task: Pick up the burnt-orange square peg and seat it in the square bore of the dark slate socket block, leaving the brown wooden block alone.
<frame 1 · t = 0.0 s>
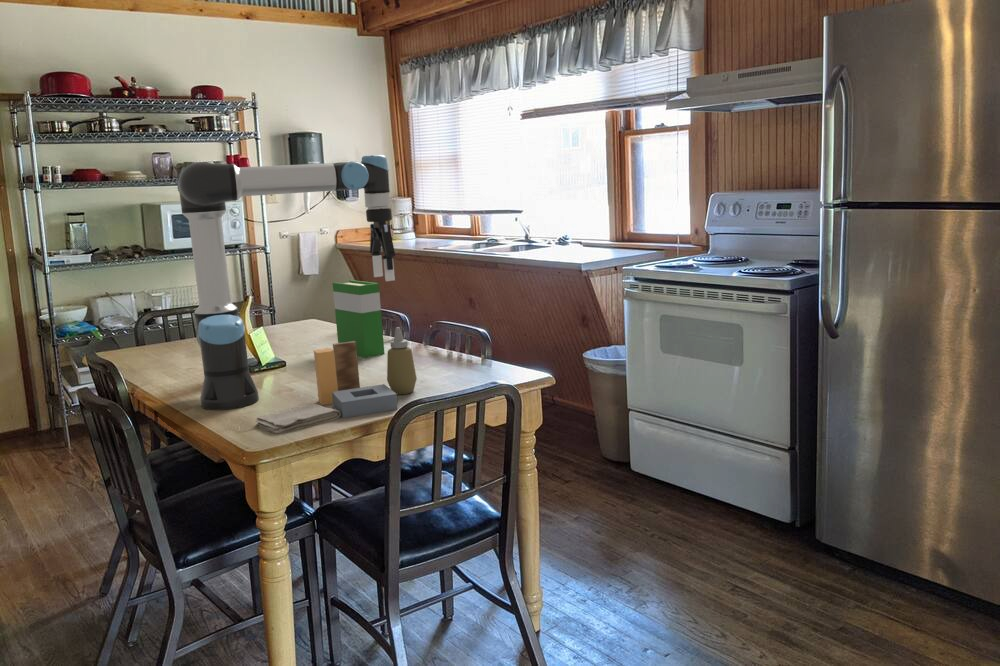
hand: (384, 278, 255), 28 cm above the table, fingers open, 13 cm apart
brown wooden block: (348, 392, 234), on the table
green cereal box: (361, 353, 287), on the table
washcloth: (298, 424, 208), on the table
square peg: (328, 401, 225), on the table
socket block: (365, 407, 217), on the table
squeeze bottle: (402, 392, 230), on the table
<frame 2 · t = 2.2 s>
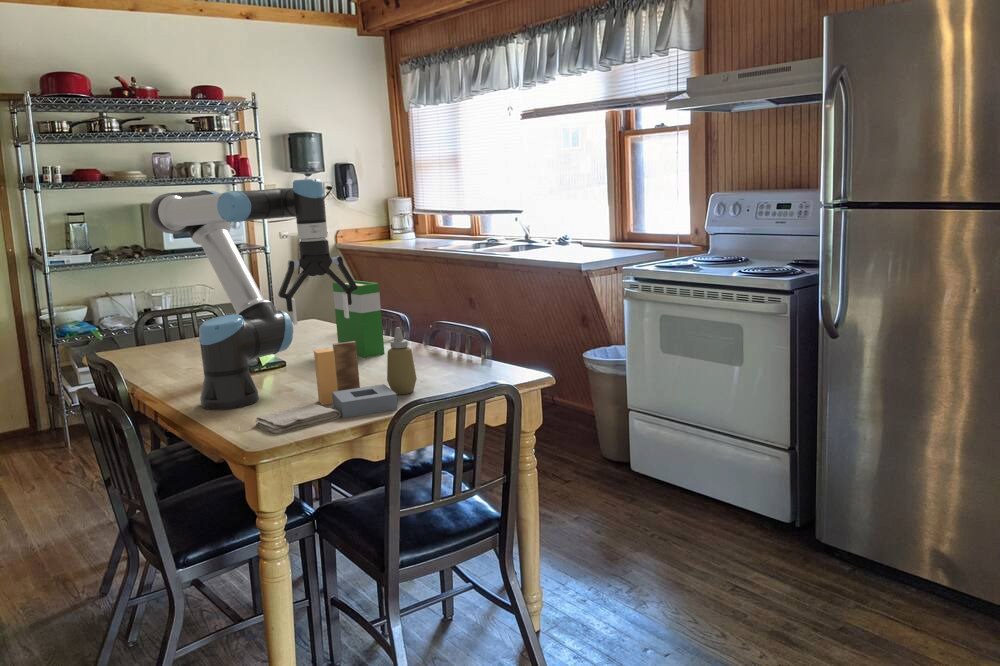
hand: (321, 320, 221), 22 cm above the table, fingers open, 13 cm apart
nothing on the table moved.
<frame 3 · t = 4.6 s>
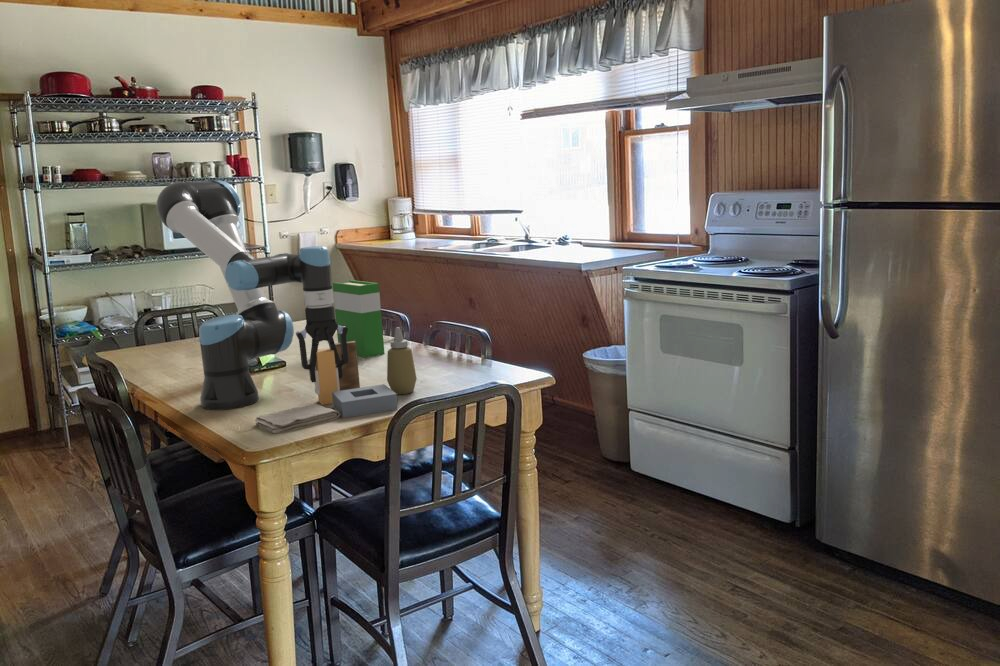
hand: (327, 391, 224), 3 cm above the table, fingers closed on square peg, 4 cm apart
square peg: (328, 401, 225), on the table, touching gripper
everything else where it was.
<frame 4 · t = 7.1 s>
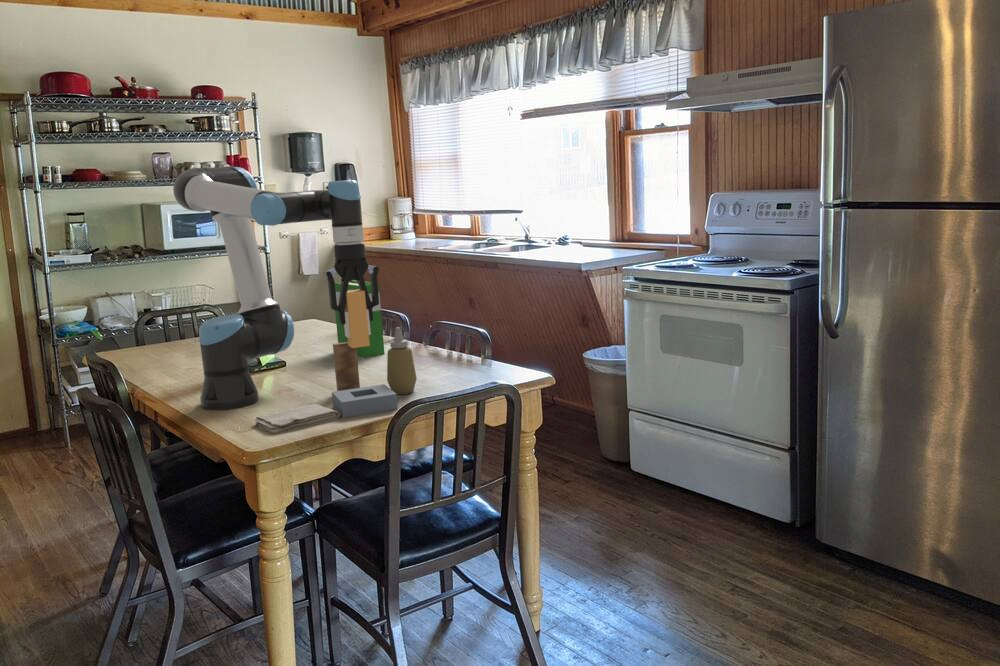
hand: (357, 335, 213), 19 cm above the table, fingers closed on square peg, 4 cm apart
square peg: (359, 345, 214), point 16 cm above the table, touching gripper
everything else where it was.
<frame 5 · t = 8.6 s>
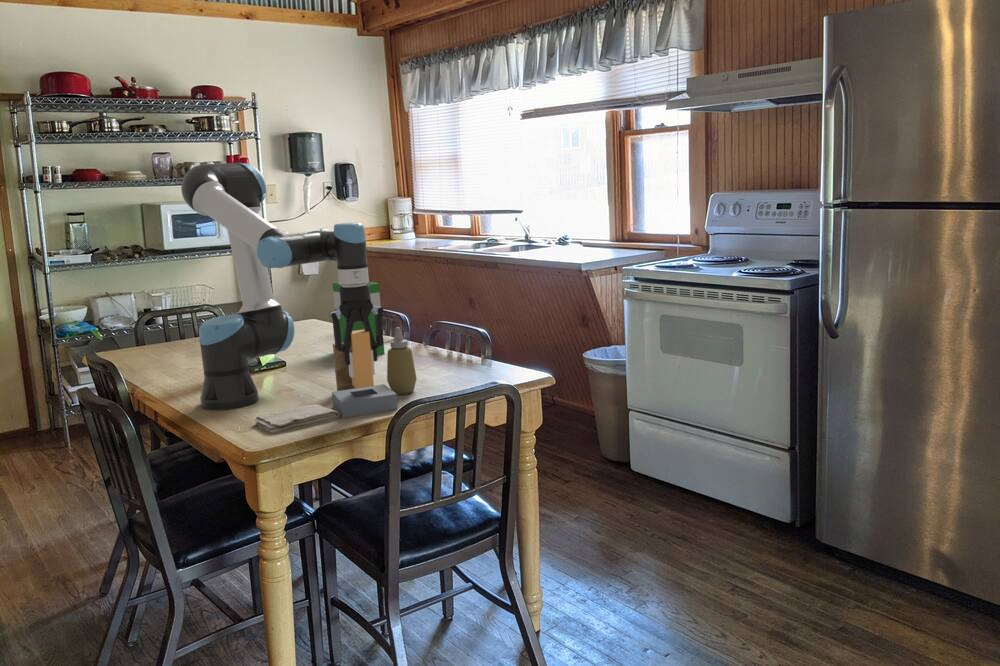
hand: (362, 375, 215), 9 cm above the table, fingers closed on square peg, 4 cm apart
square peg: (363, 385, 215), point 6 cm above the table, touching gripper
everything else where it was.
when the fingers open (5 cm above the table, at t = 9.7 s): square peg drops 2 cm, resting in socket block.
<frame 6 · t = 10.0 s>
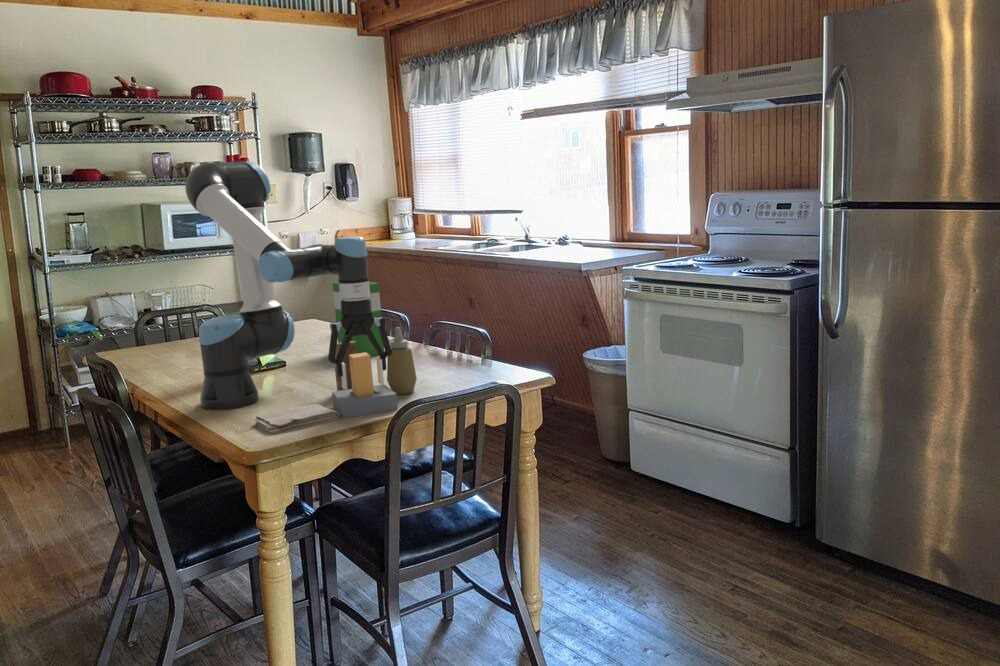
hand: (363, 385, 215), 6 cm above the table, fingers open, 9 cm apart
square peg: (364, 407, 216), resting in socket block
everything else where it was.
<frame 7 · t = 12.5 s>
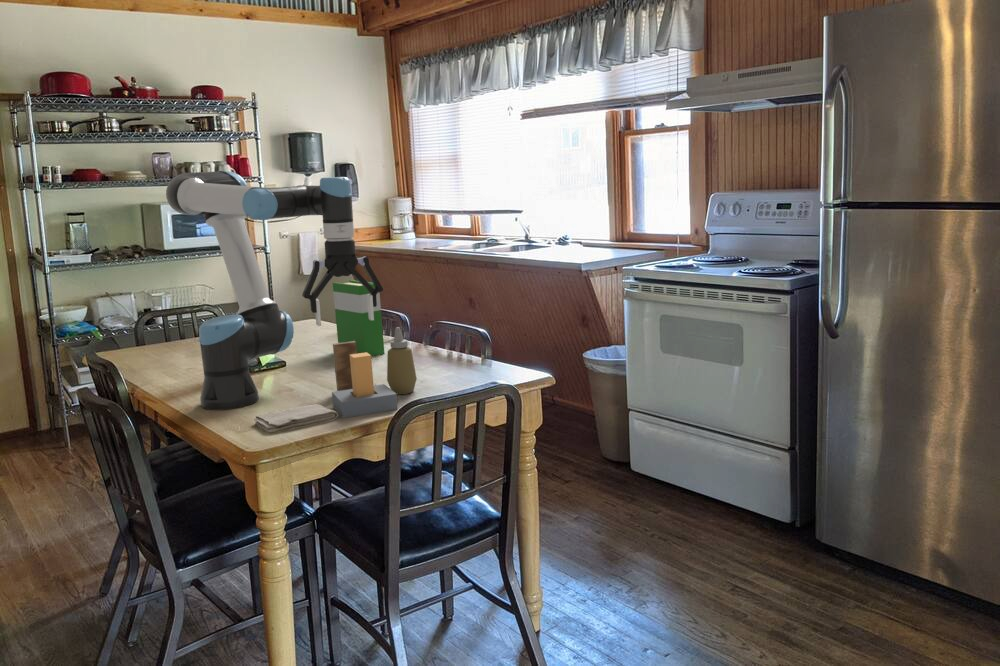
hand: (345, 322, 216), 22 cm above the table, fingers open, 13 cm apart
nothing on the table moved.
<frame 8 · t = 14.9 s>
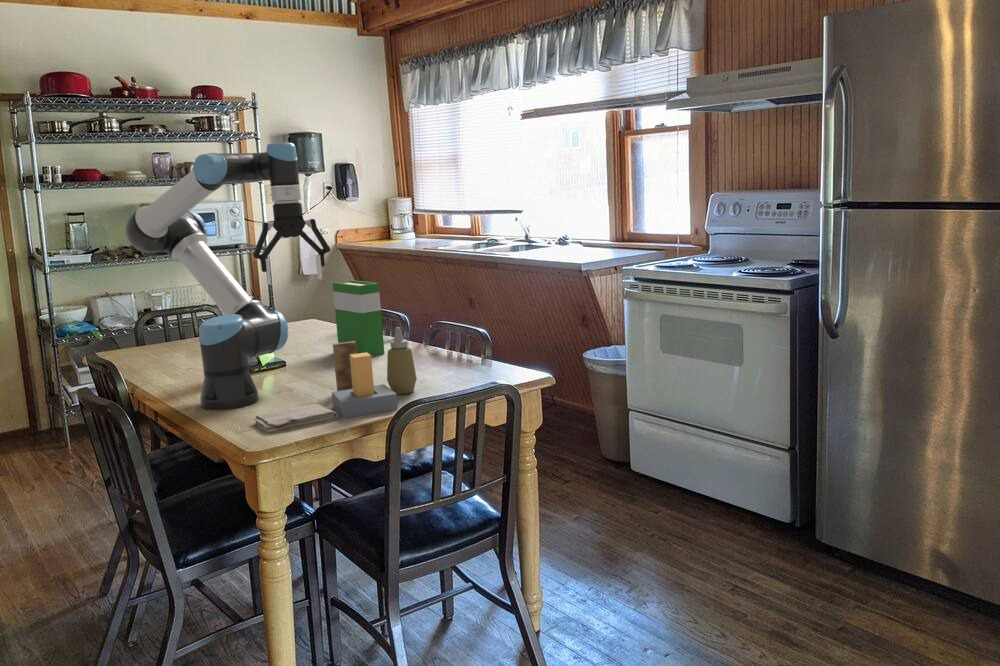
hand: (294, 281, 228), 32 cm above the table, fingers open, 13 cm apart
nothing on the table moved.
at the end: square peg 0.1 cm off-centre on the socket block, point 0.0 cm above the socket block's base; square peg tilted 0°; the gripper is holding nothing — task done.
